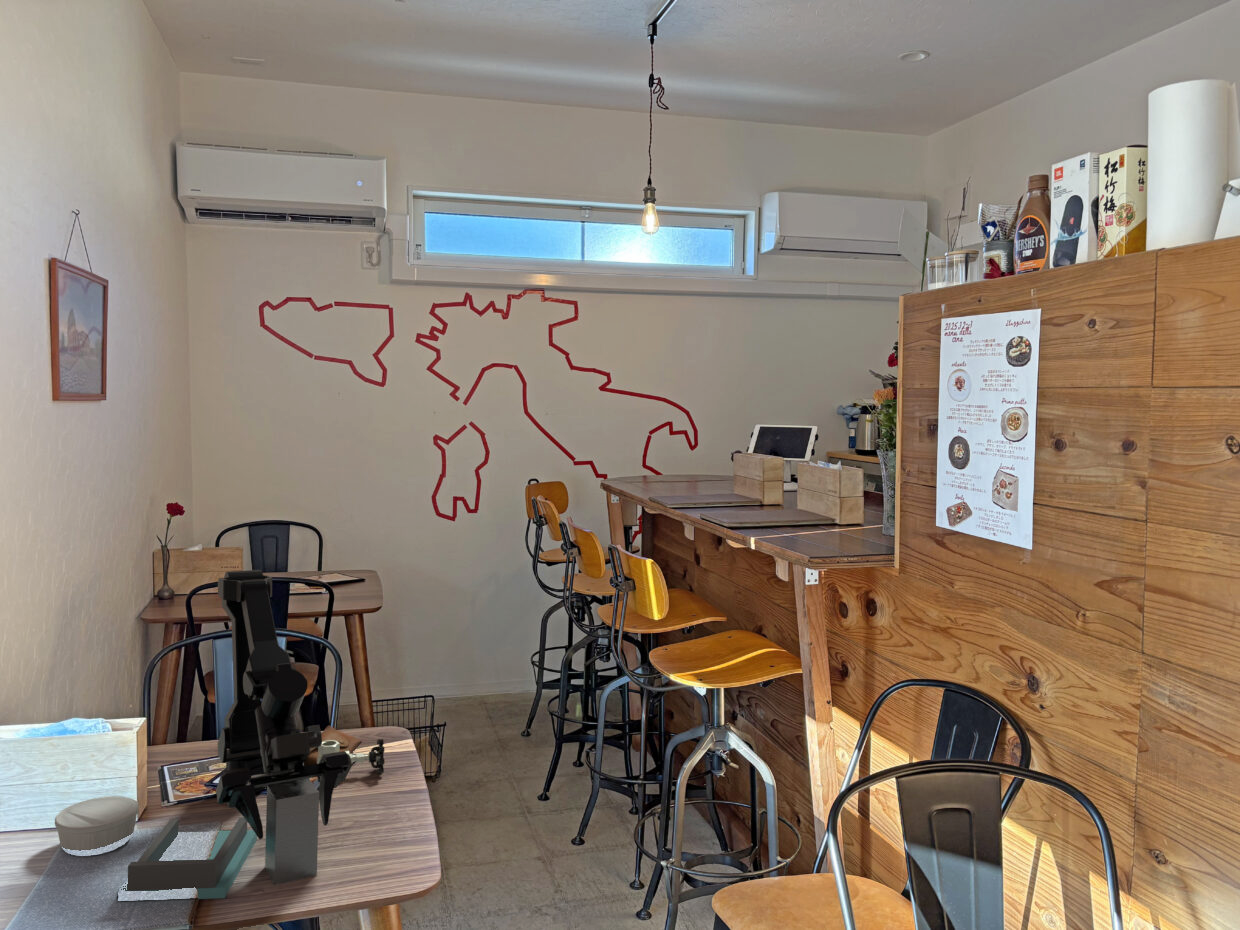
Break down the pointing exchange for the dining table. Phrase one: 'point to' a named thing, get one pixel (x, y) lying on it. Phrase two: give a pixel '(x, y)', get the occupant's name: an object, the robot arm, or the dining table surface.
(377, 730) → the dining table surface
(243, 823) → the dock plate
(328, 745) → the valve
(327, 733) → the sunglasses case
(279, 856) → the lock block
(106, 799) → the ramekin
